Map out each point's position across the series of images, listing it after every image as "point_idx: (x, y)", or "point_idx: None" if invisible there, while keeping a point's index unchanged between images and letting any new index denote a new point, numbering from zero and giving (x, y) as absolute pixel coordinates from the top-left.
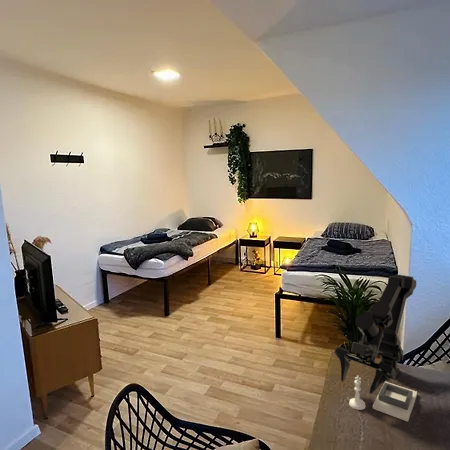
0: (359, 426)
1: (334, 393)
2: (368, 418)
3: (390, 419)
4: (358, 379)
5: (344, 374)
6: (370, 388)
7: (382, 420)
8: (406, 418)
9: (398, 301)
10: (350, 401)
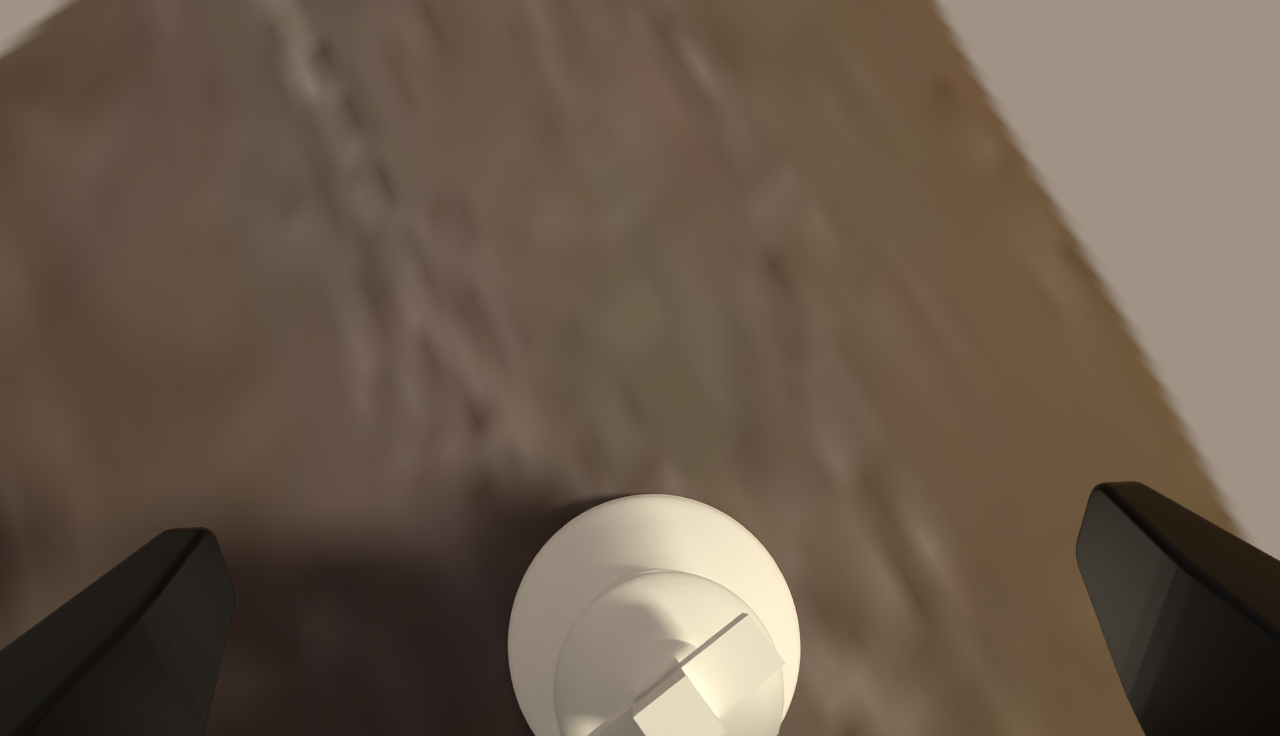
0: (386, 161)
1: None
2: (352, 430)
3: None
4: (640, 700)
5: (1233, 679)
6: (147, 597)
7: None
8: None
9: None
10: (759, 568)
